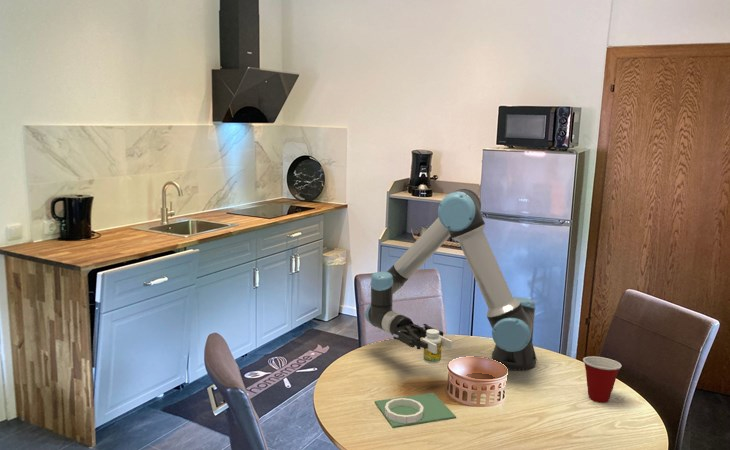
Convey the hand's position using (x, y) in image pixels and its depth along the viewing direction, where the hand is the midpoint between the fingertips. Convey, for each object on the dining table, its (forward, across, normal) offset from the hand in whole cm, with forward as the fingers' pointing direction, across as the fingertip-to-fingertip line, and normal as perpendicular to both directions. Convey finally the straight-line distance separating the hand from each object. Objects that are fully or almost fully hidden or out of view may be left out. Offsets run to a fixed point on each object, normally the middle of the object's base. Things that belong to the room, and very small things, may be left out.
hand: (443, 347), depth 173 cm
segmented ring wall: (+4, +18, -15) cm, 24 cm away
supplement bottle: (-5, 0, -6) cm, 8 cm away
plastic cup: (+27, -39, -16) cm, 50 cm away
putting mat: (+4, +14, -15) cm, 21 cm away
